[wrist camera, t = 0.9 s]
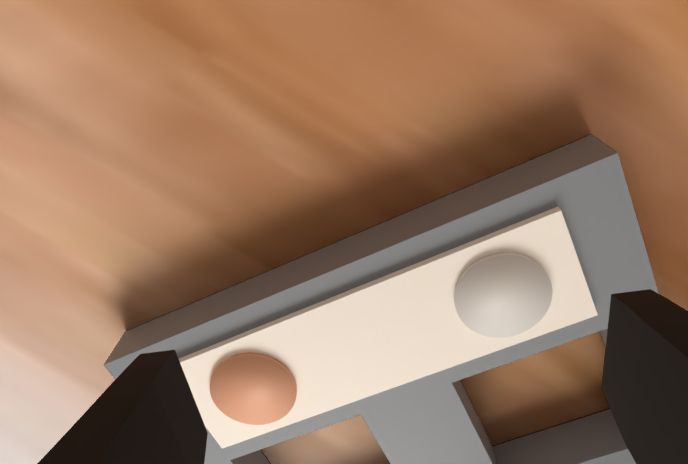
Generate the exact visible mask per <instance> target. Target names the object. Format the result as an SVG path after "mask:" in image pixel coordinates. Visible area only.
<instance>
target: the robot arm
mask: <svg viewBox="0 0 688 464" xmlns="http://www.w3.org/2000/svg"><path fill="white" fill-rule="evenodd" d="M602 389H603V392H604V394H605V397H606V399H607V402H608V404H609V407H610V409H611V412H612V414H613V417H614V419H615V421H616V424H617V426H618V428H619V430H620V433H621V435H622V437H623V440H624V442H625V444H626V446H627V448H628V450H629V452H630V453H631V455H632V457H633V459H634V461H635V462H636V464H688V311H686V310H685V309H683V308H682V307H680V306H678V305H677V304H675V303H673V302H672V301H670V300H668V299H667V298H665V297H663V296H662V295H660V294H658V293H656V292H655V291H653V290H651V289H647V290H639V291H632V292H624V293H616V294H611V301H610V311H609V320H608V330H607V340H606V349H605V359H604V368H603V378H602ZM207 435H208V433H207V430H206V428H205V425H204V422H203V420H202V417H201V415H200V412H199V410H198V407H197V405H196V402H195V400H194V397H193V394H192V392H191V389H190V387H189V384H188V382H187V379H186V377H185V374H184V372H183V369H182V366H181V364H180V361H179V359H178V356H177V354H176V351H175V350H167V351H159V352H151V353H144V354H140V355H139V356H138V357H137V358H136V359H135V360H134V361H133V362H132V363H131V364H130V365H129V366H128V367H127V368H126V369H125V370H124V371H123V372H122V373H121V374H120V375H119V376H118V377H117V378H116V380H115V381H114V382H113V383H112V384H111V385H110V386H109V387H108V388H107V389H106V391H105V392H104V393H103V394H102V395H101V396H100V397H99V398H98V399H97V400H96V402H95V403H94V404H93V405H92V406H91V407H90V408H89V409H88V410H87V411H86V412H85V414H84V415H83V416H82V417H81V418H80V419H79V420H78V421H77V422H76V423H75V424H74V425H73V426H72V428H71V429H70V430H69V431H68V432H67V433H66V434H65V435H64V436H63V437H62V438H61V439H60V440H59V441H58V443H57V444H56V445H55V446H54V447H53V448H52V449H51V450H50V451H49V452H48V453H47V454H46V455H45V456H44V457H43V459H42V460H41V461H40V462H39V463H38V464H204V461H205V452H206V444H207Z"/></svg>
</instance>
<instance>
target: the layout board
mask: <svg viewBox="0 0 688 464" xmlns="http://www.w3.org/2000/svg"><path fill="white" fill-rule="evenodd" d="M647 289H651V290H653V291H655V292H656V293H658V294H659V292H658V289H657V285H656V282H655V279H654V275H653V272H652V268H651V265H650V261H649V258H648V255H647V251H646V248H645V244H644V241H643V238H642V234H641V231H640V227H639V224H638V220H637V217H636V214H635V210H634V207H633V203H632V200H631V196H630V193H629V190H628V186H627V183H626V179H625V176H624V173H623V169H622V166H621V162H620V159H619V155H618V153H617V152H616V151H614V150H613V149H612V148H610V147H609V146H607V145H606V144H605V143H603V142H602V141H600V140H599V139H598V138H596V137H595V136H593V135H592V134H591V135H589V136H587V137H584V138H582V139H579V140H577V141H575V142H572V143H570V144H568V145H565V146H563V147H561V148H558V149H556V150H553V151H551V152H549V153H546V154H544V155H542V156H539V157H537V158H535V159H532V160H530V161H527V162H525V163H523V164H520V165H518V166H516V167H513V168H511V169H509V170H506V171H504V172H501V173H499V174H497V175H494V176H492V177H490V178H487V179H485V180H483V181H480V182H478V183H475V184H473V185H471V186H468V187H466V188H464V189H461V190H459V191H457V192H454V193H452V194H449V195H447V196H445V197H442V198H440V199H438V200H435V201H433V202H431V203H428V204H426V205H423V206H421V207H419V208H416V209H414V210H412V211H409V212H407V213H405V214H402V215H400V216H397V217H395V218H393V219H390V220H388V221H386V222H383V223H381V224H379V225H376V226H374V227H371V228H369V229H367V230H364V231H362V232H360V233H357V234H355V235H353V236H350V237H348V238H345V239H343V240H341V241H338V242H336V243H334V244H331V245H329V246H327V247H324V248H322V249H319V250H317V251H315V252H312V253H310V254H308V255H305V256H303V257H301V258H298V259H296V260H293V261H291V262H289V263H286V264H284V265H282V266H279V267H277V268H275V269H272V270H270V271H267V272H265V273H263V274H260V275H258V276H256V277H253V278H251V279H249V280H246V281H244V282H242V283H239V284H237V285H234V286H232V287H230V288H227V289H225V290H223V291H220V292H218V293H216V294H213V295H211V296H208V297H206V298H204V299H201V300H199V301H197V302H194V303H192V304H190V305H187V306H185V307H182V308H180V309H178V310H175V311H173V312H171V313H168V314H166V315H164V316H161V317H159V318H156V319H154V320H152V321H149V322H147V323H145V324H142V325H140V326H138V327H135V328H133V329H130V330H128V331H126V332H125V333H124V334H123V336H122V337H121V339H120V341H119V342H118V344H117V345H116V347H115V348H114V350H113V351H112V353H111V354H110V356H109V357H108V359H107V360H106V362H105V364H104V366H105V367H106V369H107V370H108V371H109V372H110V373H111V375H112V376H113V377H114V378H115V380H116V378H117V377H118V376H119V375H120V374H121V373H122V372H123V371H124V370H125V369H126V368H127V367H128V366H129V365H130V364H131V363H132V362H133V361H134V360H135V359H136V358H137V357H138V356H139V355H140V354H144V353H151V352H159V351H167V350H175V351H176V354H177V356H178V359H179V361H180V364H181V366H182V369H183V372H184V374H185V377H186V379H187V382H188V384H189V387H190V389H191V392H192V394H193V397H194V400H195V402H196V405H197V407H198V410H199V412H200V415H201V417H202V420H203V422H204V425H205V428H206V430H207V433H208V435H207V444H206V452H205V461H204V464H270V463H269V461H268V460H267V458H266V457H265V456H264V454H263V453H262V451H261V449H264V448H267V447H269V446H272V445H275V444H278V443H281V442H284V441H287V440H290V439H292V438H295V437H298V436H301V435H304V434H307V433H310V432H312V431H315V430H318V429H321V428H324V427H327V426H330V425H332V424H335V423H338V422H341V421H344V420H347V419H350V418H353V417H355V416H358V415H361V416H362V418H363V419H364V421H365V423H366V424H367V426H368V428H369V429H370V431H371V433H372V434H373V436H374V437H375V439H376V441H377V442H378V444H379V446H380V447H381V449H382V451H383V452H384V454H385V456H386V457H387V459H388V461H389V462H390V464H636V462H635V461H634V459H633V457H632V455H631V453H630V452H629V450H628V448H627V446H626V444H625V442H624V440H623V437H622V435H621V433H620V430H619V428H618V426H617V424H616V421H615V419H614V417H613V414H612V412H611V409H608V410H605V411H602V412H599V413H596V414H593V415H590V416H586V417H583V418H580V419H577V420H574V421H571V422H568V423H564V424H561V425H558V426H555V427H552V428H549V429H546V430H543V431H539V432H536V433H533V434H530V435H527V436H524V437H521V438H517V439H514V440H511V441H508V442H505V443H502V444H499V445H496V446H492V444H491V442H490V440H489V438H488V436H487V434H486V432H485V429H484V427H483V425H482V423H481V421H480V419H479V417H478V415H477V413H476V411H475V409H474V407H473V405H472V403H471V401H470V399H469V397H468V395H467V393H466V391H465V389H464V387H463V385H462V383H461V381H460V380H461V379H464V378H467V377H470V376H473V375H476V374H479V373H481V372H484V371H487V370H490V369H493V368H496V367H499V366H501V365H504V364H507V363H510V362H513V361H516V360H519V359H522V358H524V357H527V356H530V355H533V354H536V353H539V352H542V351H544V350H547V349H550V348H553V347H556V346H559V345H562V344H565V343H567V342H570V341H573V340H576V339H579V338H582V337H585V336H587V335H590V334H593V333H596V332H599V331H600V334H601V337H602V340H603V342H604V345H605V348H606V340H607V330H608V320H609V311H610V301H611V294H616V293H624V292H632V291H639V290H647Z"/></svg>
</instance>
